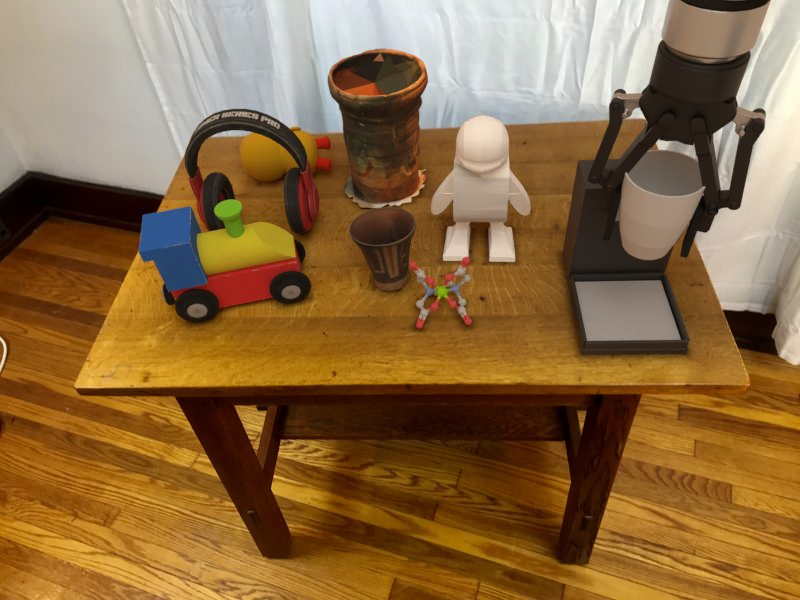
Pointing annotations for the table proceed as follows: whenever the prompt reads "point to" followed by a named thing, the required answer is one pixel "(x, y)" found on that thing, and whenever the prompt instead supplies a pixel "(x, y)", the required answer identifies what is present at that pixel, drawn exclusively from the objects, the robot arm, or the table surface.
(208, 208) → the headphones
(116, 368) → the table surface
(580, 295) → the open gift box
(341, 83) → the vessel
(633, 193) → the cup
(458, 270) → the molecular model
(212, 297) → the toy train
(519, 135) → the table surface
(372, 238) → the cup
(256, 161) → the toy
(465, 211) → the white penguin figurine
